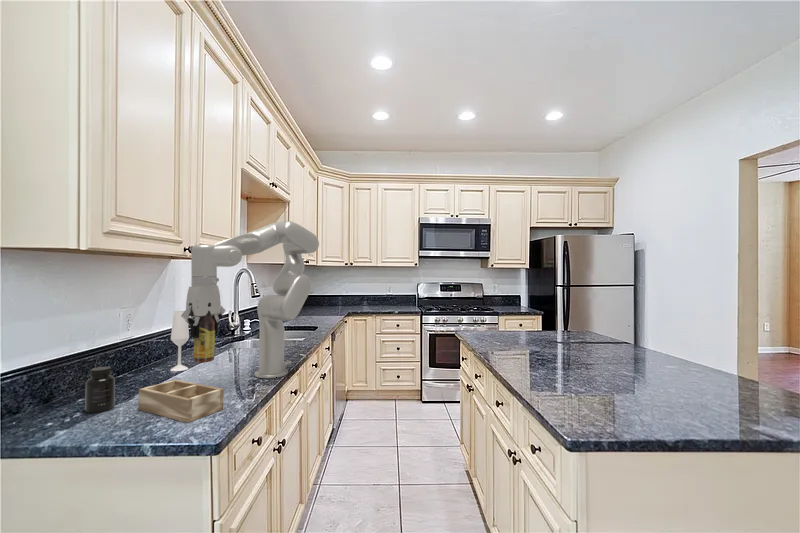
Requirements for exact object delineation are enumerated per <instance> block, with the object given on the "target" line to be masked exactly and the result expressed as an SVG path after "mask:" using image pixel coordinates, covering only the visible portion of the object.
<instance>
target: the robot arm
mask: <svg viewBox="0 0 800 533" xmlns="http://www.w3.org/2000/svg"><path fill="white" fill-rule="evenodd" d="M279 244H282V248H283V252H284V256H285V260H284V264H283V267H282V268H281V270H280V272H279V273H278V275H277V277H276V278H275V280H274V281H273V284H272V289H273V292H274V293H275V294H268V295H265V296H263V297H261V298H260V299H259V300H258V303H257V307H256V308H257V310H256V311H257V316H258V322H259V340H258V341H259V342H258V344H259V346H258V349H259V350H258V352H259V353H258V369H257V370H256V371H255V372H254V377H256V378H259V379H276V377H277V378H281V377H284V376H287V375H288V373H289V370H288V369H286V367H289V366H292V360H285V332H286V330H285V325H284V322H283V321H292V320H294V319H296V317H298V316H299V314H300V312H301V310H302V308H303V306H304V305H305V302H306V300H307V298H308V297H309V294H310V291H311V286H312V284H311V283H312V282H311V279H310V277H309V276H307V274H304V271H305V267H306V265H305V261H304V259H303V255H306V254H313V253H315V252H317V250H318V249H319V246H320V242H319V239H318V237H317V236H316V234H314V233H313V232H312V231H310V230H309V229H306V228H305V227H303V226H302V225H301V224H298V223H297V222H294V221H289V220H288V221H277V222H276V221H275V222H271V223H270V224H267V225H265V226H263V227H260V228H257V229H255V230H252V231H250V232H246V233H243V234H240V235H236V236H234V237H231V238H228V239H224V240H221V241H219V242H216V243H213V244H195V245H193V246H192V247H191V256H190V257H191V258H190V259H191V261H190V262H191V267H190V268H191V269H190V270H191V271H190V272H191V281H190V282H191V286H188V289H187V294H186V299H185V300H186V301H185V310H183V311H184V312H183V314H182V315H181V317H182V318H183V319H184V320H185V321H186V322H187V323H188V326H190V338H193V339H194V338H199V326H198V325H197V324H198V321H199V319H200V317H203V316H205V315H206V314H207V313H208V311H210V313H211V315H212V318H213V319H214V321H215V336H216V335H218V334H219V333H218V328H219V326H218V325H219V324H218V323H220V320H221V318H222V317H223V315H224V314H225V313H226V309H225V308H224V306H222V305H221V293H220V289H219V286H218V284H217V283H218V282H219V281H220V279H219V277H217V276H218V270H217V269H218V267H222V268H223V267H225V268H228V267H229V268H230V267H234V266H237V265H238V264H239V263H240V262H241V261H242V258H243V256H252V255H255V254H260V253H263V252H264V251H266V250H268V249H271V248H273V247H274V246H277V245H279ZM302 254H303V255H302ZM208 303H211V306H210V307H208Z"/></svg>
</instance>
